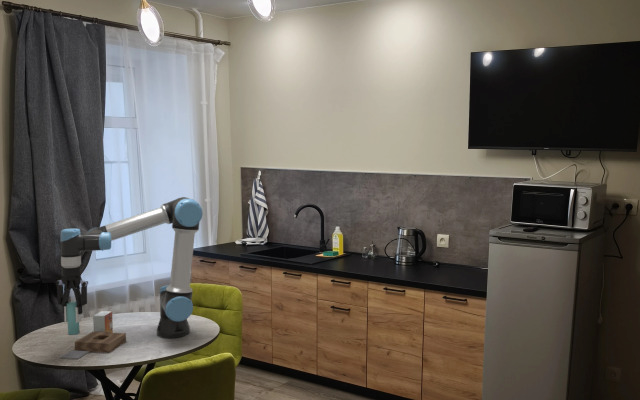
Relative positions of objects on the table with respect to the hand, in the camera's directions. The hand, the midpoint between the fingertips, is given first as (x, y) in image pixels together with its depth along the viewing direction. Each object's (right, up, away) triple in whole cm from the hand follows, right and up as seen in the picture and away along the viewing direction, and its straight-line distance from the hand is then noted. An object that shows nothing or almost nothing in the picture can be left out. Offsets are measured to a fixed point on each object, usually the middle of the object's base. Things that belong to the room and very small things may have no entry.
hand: (72, 321), depth 233 cm
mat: (0, -15, +1) cm, 15 cm away
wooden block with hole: (+7, -14, +12) cm, 20 cm away
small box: (+2, -13, +27) cm, 30 cm away
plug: (0, -5, +1) cm, 5 cm away
